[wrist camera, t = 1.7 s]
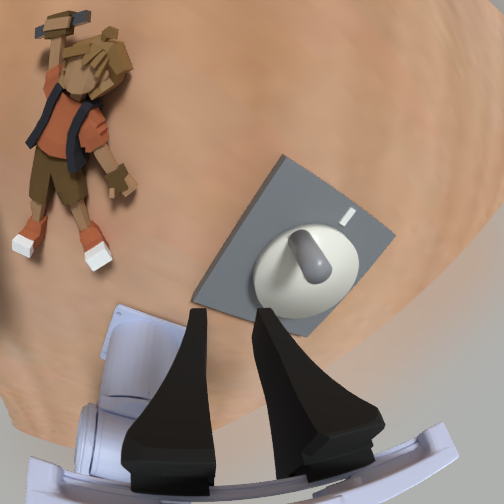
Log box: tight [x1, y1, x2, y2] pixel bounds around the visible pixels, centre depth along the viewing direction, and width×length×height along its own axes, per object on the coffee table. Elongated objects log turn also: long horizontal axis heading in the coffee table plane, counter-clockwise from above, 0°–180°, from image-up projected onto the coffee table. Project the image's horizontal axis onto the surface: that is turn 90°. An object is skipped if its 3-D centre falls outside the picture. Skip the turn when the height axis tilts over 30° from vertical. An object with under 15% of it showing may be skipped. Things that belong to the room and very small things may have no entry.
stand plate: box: [193, 154, 396, 337], centre depth 24 cm, size 14×13×1 cm
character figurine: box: [12, 10, 138, 272], centre depth 14 cm, size 10×18×4 cm, turn 161°
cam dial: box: [253, 223, 359, 319], centre depth 22 cm, size 9×9×5 cm
